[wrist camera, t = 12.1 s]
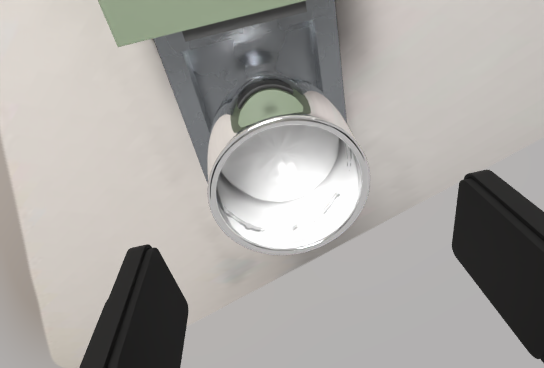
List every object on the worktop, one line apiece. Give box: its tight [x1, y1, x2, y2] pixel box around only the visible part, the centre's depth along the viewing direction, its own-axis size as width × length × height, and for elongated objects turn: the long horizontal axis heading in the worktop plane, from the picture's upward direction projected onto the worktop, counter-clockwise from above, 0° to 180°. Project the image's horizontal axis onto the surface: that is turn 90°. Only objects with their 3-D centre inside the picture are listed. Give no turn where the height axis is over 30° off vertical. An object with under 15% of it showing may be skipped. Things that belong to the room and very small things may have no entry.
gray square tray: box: [153, 0, 347, 183], centre depth 26 cm, size 12×12×3 cm
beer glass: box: [207, 50, 370, 255], centre depth 20 cm, size 7×7×15 cm
